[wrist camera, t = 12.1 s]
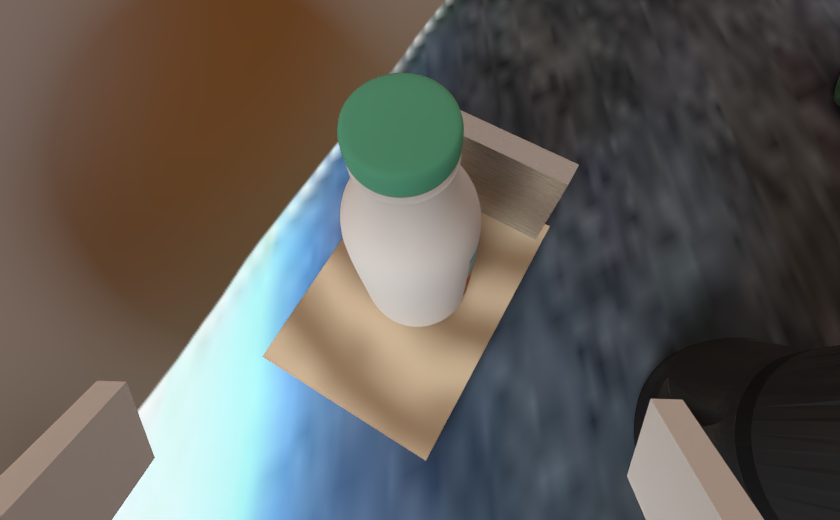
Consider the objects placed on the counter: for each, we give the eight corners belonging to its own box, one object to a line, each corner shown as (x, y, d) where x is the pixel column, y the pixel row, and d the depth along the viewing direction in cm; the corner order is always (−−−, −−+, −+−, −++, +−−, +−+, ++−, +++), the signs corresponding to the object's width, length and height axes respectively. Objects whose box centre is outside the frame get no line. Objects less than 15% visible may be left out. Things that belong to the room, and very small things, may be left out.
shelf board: (402, 164, 40) (400, 152, 38) (543, 235, 38) (549, 226, 36) (271, 359, 35) (262, 356, 33) (426, 457, 32) (425, 460, 30)
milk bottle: (449, 343, 33) (471, 251, 14) (353, 309, 34) (252, 181, 15) (480, 250, 35) (534, 63, 16) (389, 221, 36) (341, 14, 17)
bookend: (405, 155, 38) (398, 81, 30) (544, 223, 36) (578, 164, 27) (396, 169, 38) (385, 98, 29) (535, 239, 35) (568, 184, 27)
